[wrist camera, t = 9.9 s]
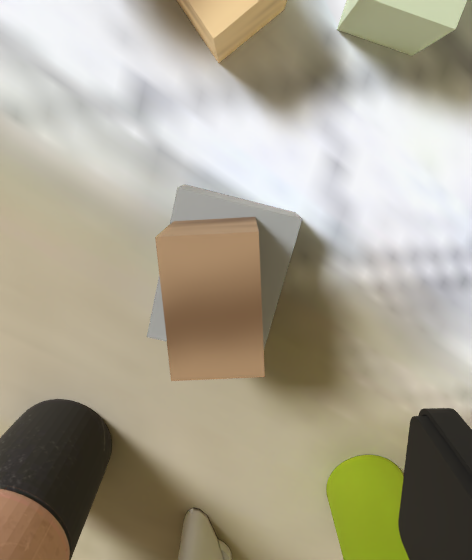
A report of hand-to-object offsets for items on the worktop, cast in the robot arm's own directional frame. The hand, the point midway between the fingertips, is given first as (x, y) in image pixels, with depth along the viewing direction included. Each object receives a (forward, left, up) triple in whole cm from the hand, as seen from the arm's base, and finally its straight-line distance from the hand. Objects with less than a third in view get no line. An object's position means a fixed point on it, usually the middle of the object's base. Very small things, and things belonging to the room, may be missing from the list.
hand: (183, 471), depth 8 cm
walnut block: (0, 0, -16) cm, 16 cm away
